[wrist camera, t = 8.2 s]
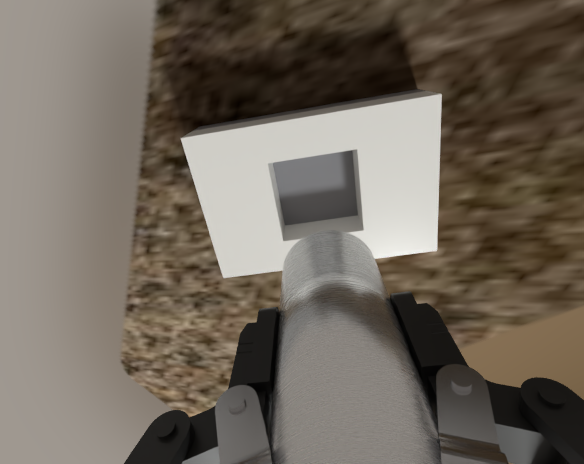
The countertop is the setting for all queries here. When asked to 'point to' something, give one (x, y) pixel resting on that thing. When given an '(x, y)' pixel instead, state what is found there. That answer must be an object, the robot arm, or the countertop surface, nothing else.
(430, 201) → the white slotted plate
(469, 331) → the countertop surface
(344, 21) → the countertop surface
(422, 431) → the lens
